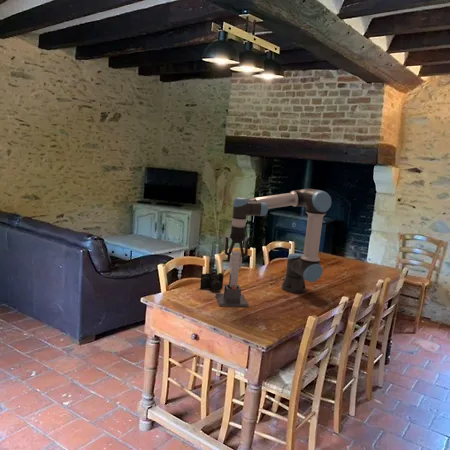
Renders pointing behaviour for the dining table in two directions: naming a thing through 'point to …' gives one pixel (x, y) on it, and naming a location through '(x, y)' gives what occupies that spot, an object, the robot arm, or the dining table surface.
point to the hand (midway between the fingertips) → (234, 267)
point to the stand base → (232, 297)
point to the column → (234, 269)
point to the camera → (212, 281)
